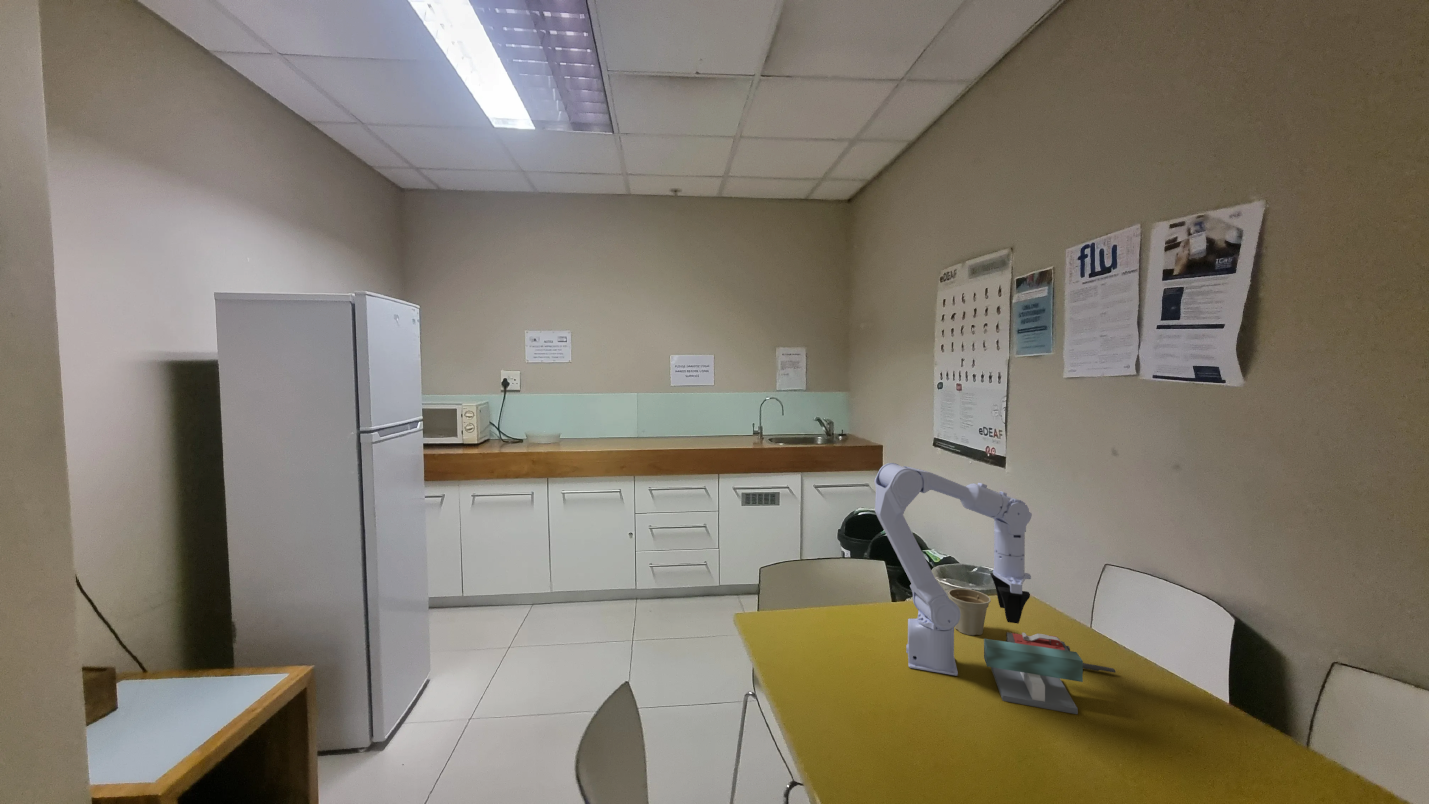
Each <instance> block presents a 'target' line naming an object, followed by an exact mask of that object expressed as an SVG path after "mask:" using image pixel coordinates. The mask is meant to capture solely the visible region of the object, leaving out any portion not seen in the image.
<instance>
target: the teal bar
mask: <svg viewBox="0 0 1429 804" xmlns="http://www.w3.org/2000/svg"><path fill="white" fill-rule="evenodd" d="M983 659H984V662H985V665H986V667H988V668H991V667H993V668H999V669H1006V670H1012V671H1018V672H1024V673H1030V674H1036V675H1042V676H1048V677H1055V678H1060V680H1066V681H1067V680H1068V681H1074V682H1080V683H1083V682H1084V680H1083V679H1084V678H1083V672H1084V670H1083V669H1084V668H1083V663H1084V662H1083V661H1084V660H1083V659H1082V658H1081V657H1080V655H1079V654H1078V652H1077V651H1073V650H1070V651H1066V650H1059V649H1052V648H1046V647H1039V646H1032V645H1025V644H1018V643H1011V642H1006V640H1005V641H1003V640H999V639H998V640H997V639H996V640H995V639H988V638H983Z"/></svg>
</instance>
